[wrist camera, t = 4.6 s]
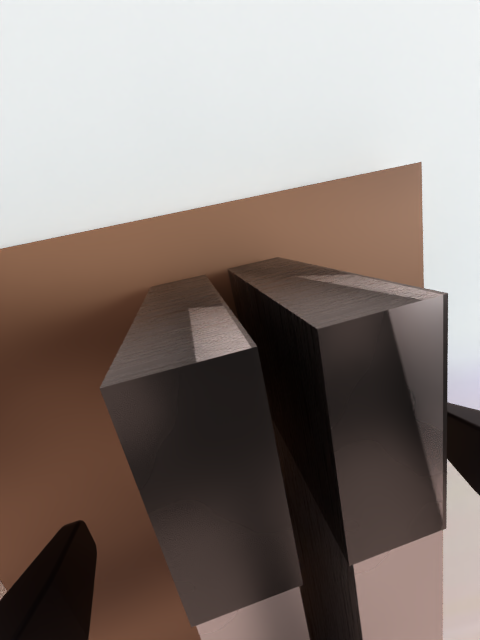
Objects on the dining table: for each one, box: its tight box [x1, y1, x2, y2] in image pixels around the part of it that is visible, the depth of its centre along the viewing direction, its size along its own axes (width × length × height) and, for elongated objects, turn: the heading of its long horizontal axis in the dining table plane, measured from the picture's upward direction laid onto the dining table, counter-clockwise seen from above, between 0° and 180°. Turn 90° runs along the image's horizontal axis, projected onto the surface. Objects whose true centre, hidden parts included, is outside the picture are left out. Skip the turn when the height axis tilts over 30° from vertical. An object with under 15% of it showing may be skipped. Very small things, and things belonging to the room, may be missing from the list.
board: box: [0, 162, 424, 640], centre depth 11 cm, size 22×14×1 cm, turn 12°
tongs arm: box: [100, 274, 310, 640], centre depth 7 cm, size 17×2×5 cm, turn 11°
